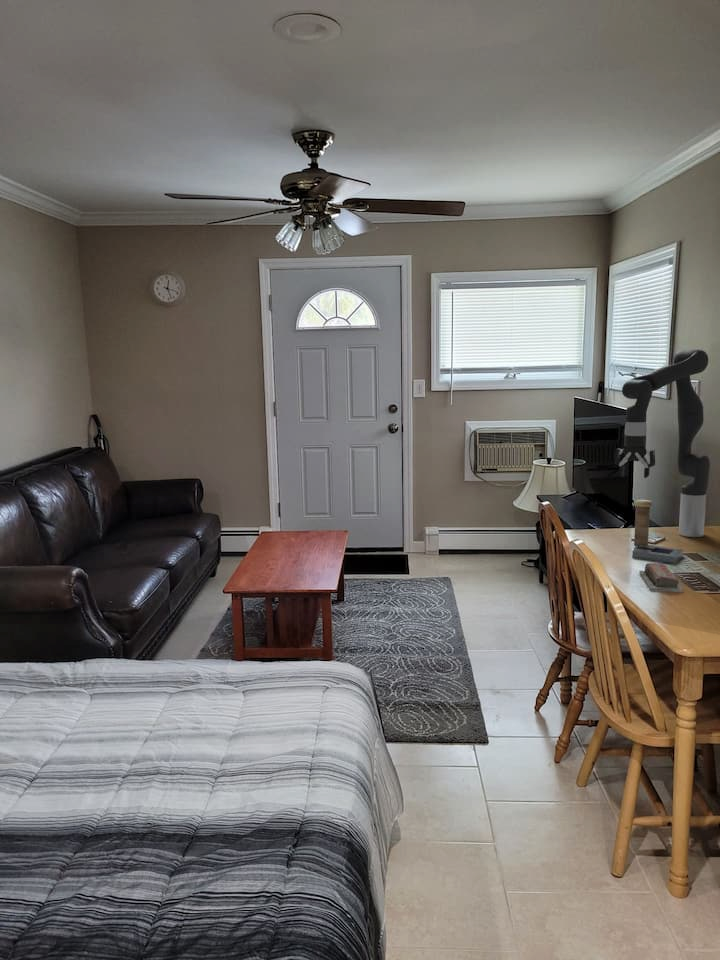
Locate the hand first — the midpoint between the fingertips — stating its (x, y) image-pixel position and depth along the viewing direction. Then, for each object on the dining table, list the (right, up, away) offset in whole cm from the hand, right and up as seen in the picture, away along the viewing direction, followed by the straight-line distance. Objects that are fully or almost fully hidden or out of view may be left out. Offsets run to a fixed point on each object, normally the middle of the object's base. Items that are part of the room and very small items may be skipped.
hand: (633, 476), depth 257 cm
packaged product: (-6, -35, -35) cm, 50 cm away
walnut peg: (+6, -27, +9) cm, 29 cm away
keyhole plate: (+6, -29, -6) cm, 31 cm away
